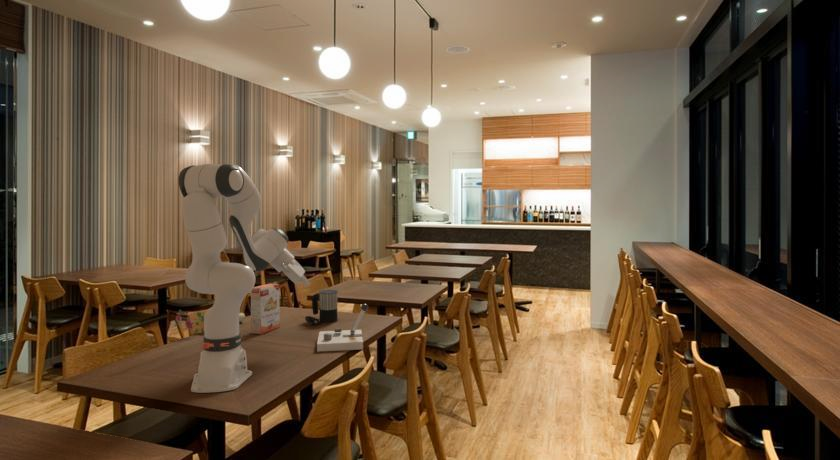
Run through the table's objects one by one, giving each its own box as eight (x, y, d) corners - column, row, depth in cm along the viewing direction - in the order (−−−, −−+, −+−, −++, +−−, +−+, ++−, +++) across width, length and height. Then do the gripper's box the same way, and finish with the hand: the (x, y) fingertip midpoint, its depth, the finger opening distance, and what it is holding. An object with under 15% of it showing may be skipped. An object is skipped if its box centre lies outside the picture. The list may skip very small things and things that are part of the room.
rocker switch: (341, 332, 218) (341, 328, 218) (334, 332, 217) (334, 329, 218) (341, 331, 222) (341, 328, 222) (334, 331, 222) (334, 328, 222)
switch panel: (363, 349, 208) (362, 341, 207) (317, 351, 205) (316, 343, 205) (361, 336, 227) (361, 329, 227) (319, 338, 225) (319, 331, 225)
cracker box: (261, 335, 232) (260, 288, 230) (250, 333, 234) (249, 287, 232) (281, 327, 245) (279, 283, 243) (270, 326, 247) (269, 282, 246)
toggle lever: (348, 333, 215) (363, 303, 215) (348, 331, 218) (362, 302, 218) (354, 336, 215) (369, 306, 216) (354, 334, 218) (369, 305, 219)
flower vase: (243, 339, 253) (183, 340, 222) (227, 329, 259) (166, 329, 228) (252, 316, 253) (193, 315, 222) (235, 306, 259) (176, 304, 228)
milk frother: (340, 318, 261) (340, 289, 261) (331, 326, 246) (330, 295, 245) (313, 318, 263) (312, 289, 262) (302, 326, 248) (301, 295, 247)
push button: (331, 339, 210) (331, 335, 210) (323, 339, 210) (323, 335, 209) (331, 337, 213) (331, 333, 213) (323, 337, 213) (323, 333, 213)
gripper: (286, 259, 201) (312, 283, 203) (292, 254, 221) (316, 276, 223) (274, 270, 201) (301, 295, 202) (281, 264, 221) (305, 287, 223)
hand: (309, 285), depth 213 cm, fingers closed
